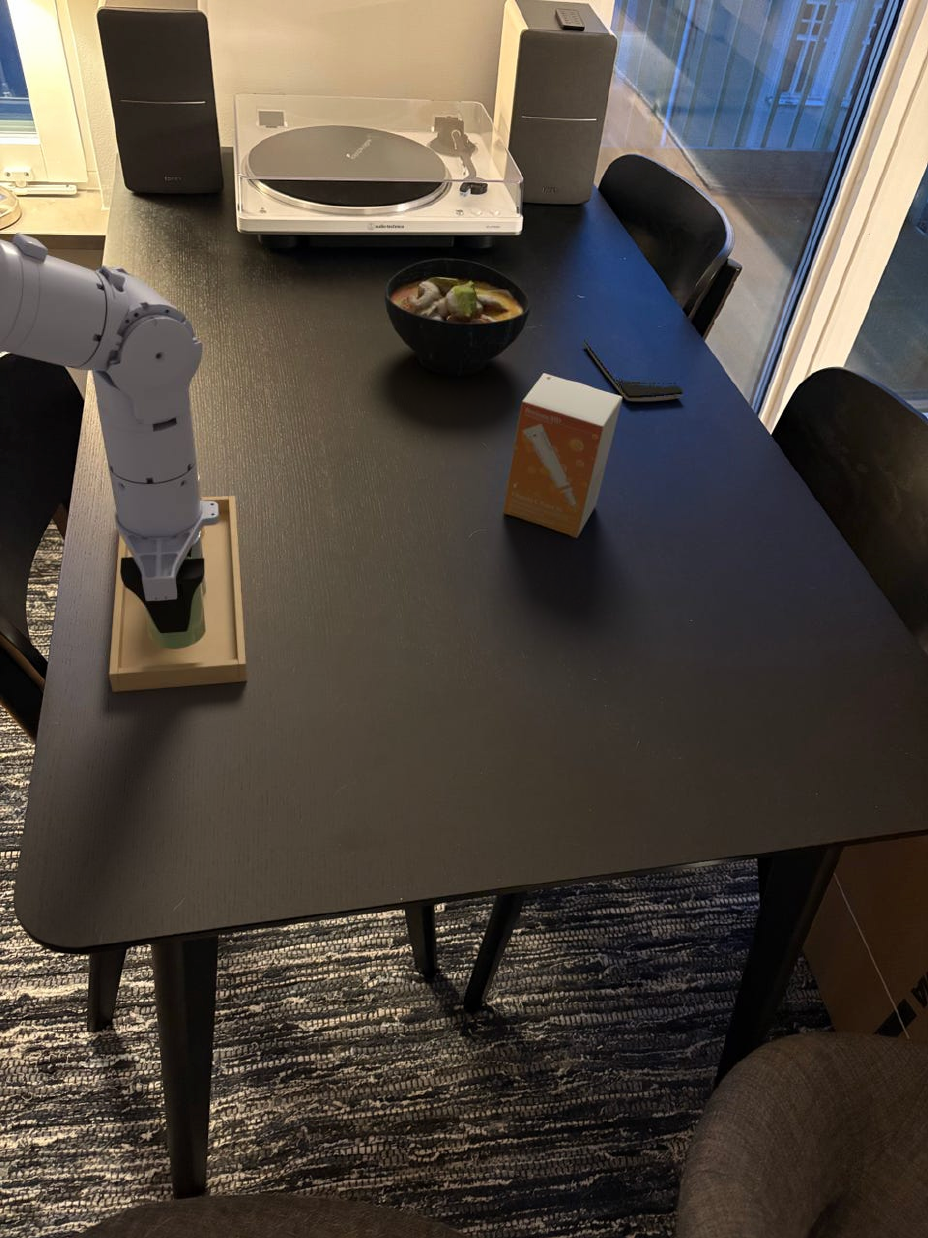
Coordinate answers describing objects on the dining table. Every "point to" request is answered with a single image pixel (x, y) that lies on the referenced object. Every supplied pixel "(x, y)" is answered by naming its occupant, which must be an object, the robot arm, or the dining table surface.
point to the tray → (223, 641)
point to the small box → (560, 453)
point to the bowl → (455, 313)
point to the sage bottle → (182, 638)
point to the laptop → (639, 387)
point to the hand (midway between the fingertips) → (173, 607)
